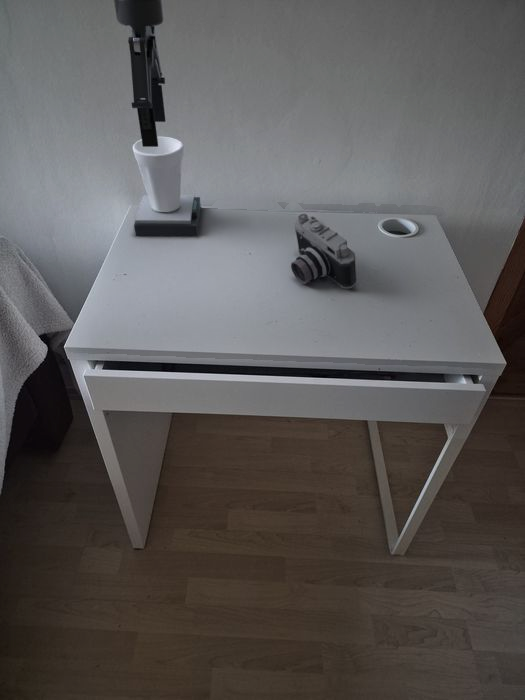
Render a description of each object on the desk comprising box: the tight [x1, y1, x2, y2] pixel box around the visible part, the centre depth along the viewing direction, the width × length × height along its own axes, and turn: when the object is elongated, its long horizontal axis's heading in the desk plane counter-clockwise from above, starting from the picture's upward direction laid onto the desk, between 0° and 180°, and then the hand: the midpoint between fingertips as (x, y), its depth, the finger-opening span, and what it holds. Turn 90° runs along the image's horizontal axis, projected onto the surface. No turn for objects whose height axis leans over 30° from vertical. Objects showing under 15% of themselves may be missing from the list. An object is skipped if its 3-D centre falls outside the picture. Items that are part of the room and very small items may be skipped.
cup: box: [132, 135, 184, 212], centre depth 93 cm, size 10×10×13 cm
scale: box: [133, 194, 202, 237], centre depth 98 cm, size 13×13×4 cm
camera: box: [290, 213, 357, 289], centre depth 83 cm, size 16×9×10 cm, turn 34°
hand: (154, 133), depth 86 cm, fingers open, 13 cm apart
